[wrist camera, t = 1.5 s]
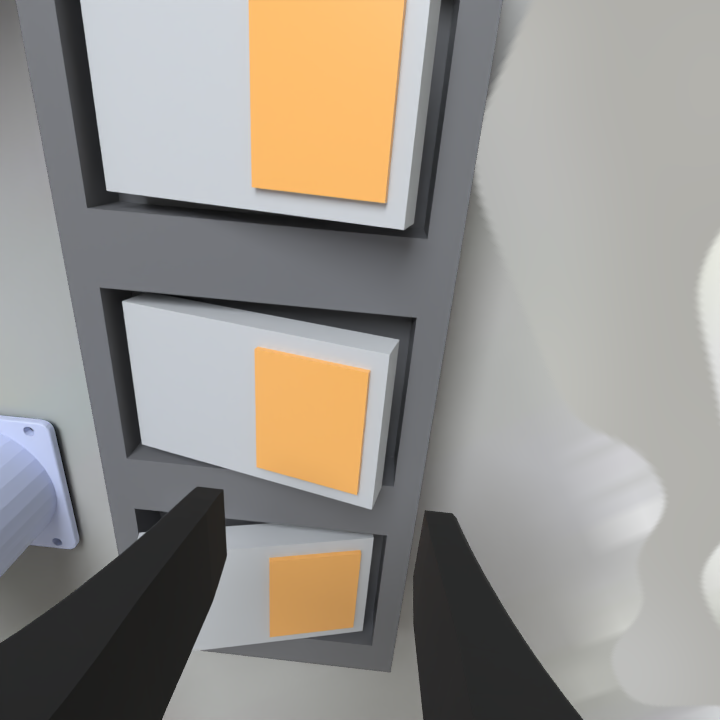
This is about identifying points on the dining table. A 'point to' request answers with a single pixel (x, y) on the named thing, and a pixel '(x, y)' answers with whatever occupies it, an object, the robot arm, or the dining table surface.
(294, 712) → the dining table surface
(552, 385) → the dining table surface
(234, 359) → the outlet rocker
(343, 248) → the power strip
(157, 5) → the rocker outlet
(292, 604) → the outlet rocker
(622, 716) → the dining table surface
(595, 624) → the dining table surface
